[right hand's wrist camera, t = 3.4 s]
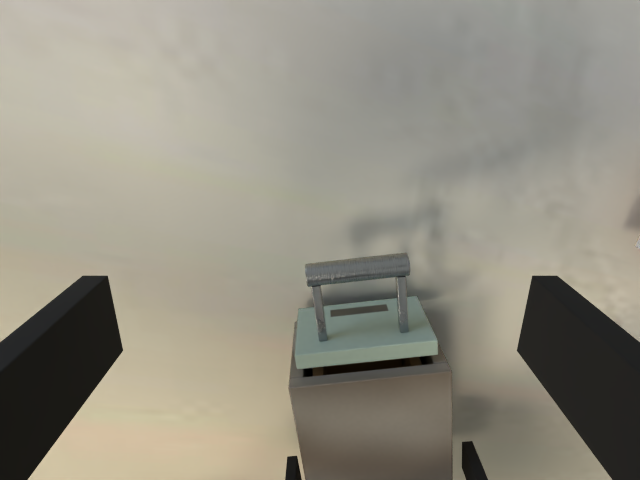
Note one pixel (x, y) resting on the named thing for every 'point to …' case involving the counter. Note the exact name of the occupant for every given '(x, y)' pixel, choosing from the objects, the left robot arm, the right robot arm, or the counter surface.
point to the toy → (638, 243)
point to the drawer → (362, 321)
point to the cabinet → (375, 421)
